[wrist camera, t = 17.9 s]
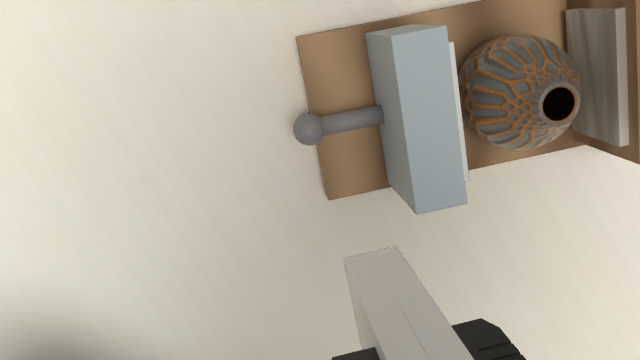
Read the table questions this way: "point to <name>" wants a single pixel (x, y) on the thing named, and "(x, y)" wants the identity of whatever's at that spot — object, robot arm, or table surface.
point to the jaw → (410, 116)
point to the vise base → (467, 34)
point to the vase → (519, 91)
